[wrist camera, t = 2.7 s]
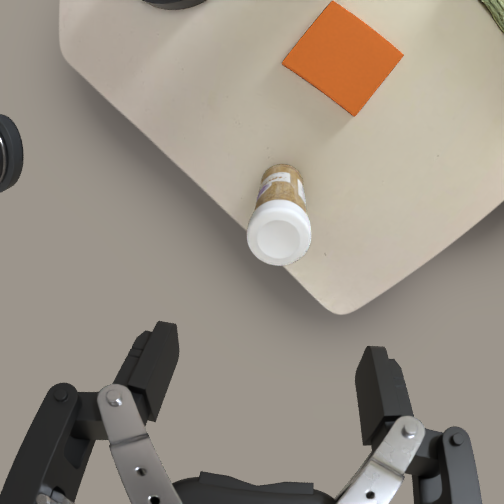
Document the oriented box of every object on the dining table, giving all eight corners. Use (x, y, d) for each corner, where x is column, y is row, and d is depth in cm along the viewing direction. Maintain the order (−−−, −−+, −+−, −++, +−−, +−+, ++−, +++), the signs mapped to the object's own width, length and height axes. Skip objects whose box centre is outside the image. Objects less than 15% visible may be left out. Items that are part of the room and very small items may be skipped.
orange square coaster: (281, 63, 28) (281, 63, 27) (331, 2, 24) (332, 0, 23) (353, 116, 29) (355, 116, 29) (401, 55, 25) (404, 55, 25)
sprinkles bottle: (269, 157, 33) (259, 198, 21) (310, 173, 33) (322, 223, 21) (255, 195, 35) (236, 255, 23) (293, 210, 35) (296, 276, 23)
